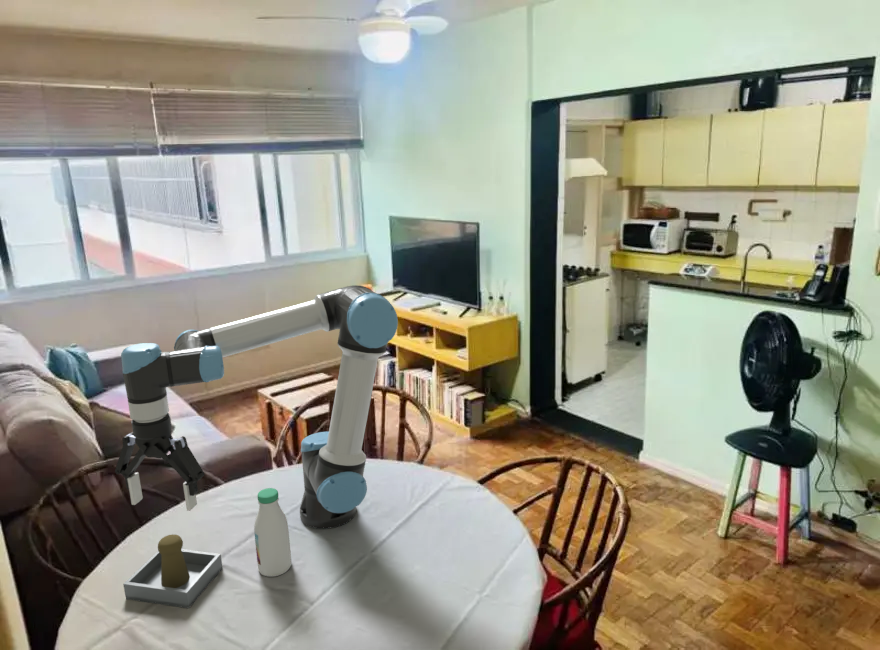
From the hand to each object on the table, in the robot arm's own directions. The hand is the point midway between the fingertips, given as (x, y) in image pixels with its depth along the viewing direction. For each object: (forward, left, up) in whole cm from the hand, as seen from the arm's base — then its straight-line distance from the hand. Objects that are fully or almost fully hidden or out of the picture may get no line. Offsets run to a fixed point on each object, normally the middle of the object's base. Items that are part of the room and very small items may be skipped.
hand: (164, 504), depth 135 cm
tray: (0, 0, -20) cm, 20 cm away
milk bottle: (-20, -9, -21) cm, 30 cm away
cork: (0, 0, -20) cm, 20 cm away
